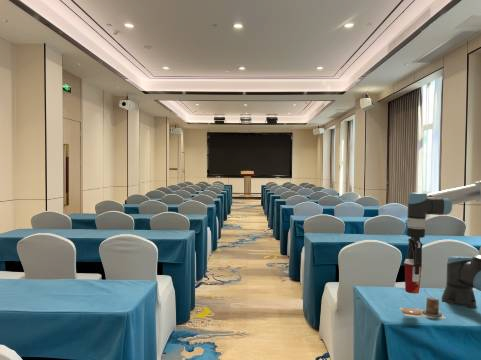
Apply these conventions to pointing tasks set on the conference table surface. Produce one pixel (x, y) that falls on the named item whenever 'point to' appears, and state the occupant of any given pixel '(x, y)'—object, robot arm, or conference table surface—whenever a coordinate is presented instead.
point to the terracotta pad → (411, 311)
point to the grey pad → (432, 314)
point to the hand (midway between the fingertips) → (413, 279)
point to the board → (422, 314)
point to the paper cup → (409, 284)
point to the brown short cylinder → (432, 306)
